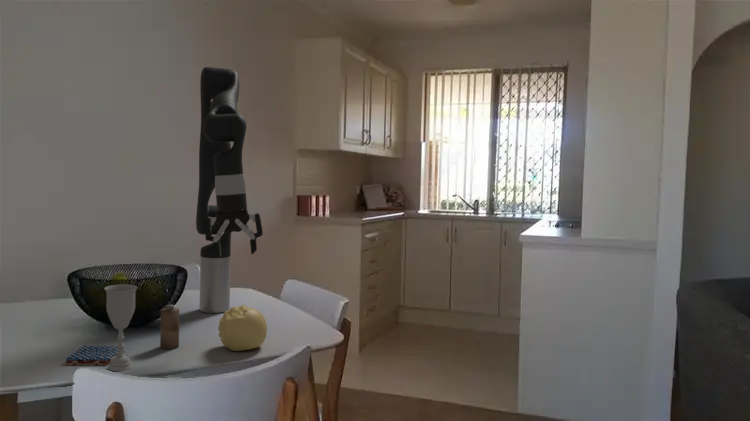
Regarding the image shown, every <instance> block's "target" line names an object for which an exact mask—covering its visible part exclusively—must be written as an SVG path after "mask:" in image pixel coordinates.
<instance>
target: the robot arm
mask: <svg viewBox="0 0 750 421" xmlns="http://www.w3.org/2000/svg"><path fill="white" fill-rule="evenodd" d="M199 81H200V84H199V85H200V92H199V93H200V116H201V117H200V135H199V147H198V149H199V151H198V152H199V153H198V193H197V194H198V195H197V204H196V216H195V217H196V218H195V227H196V231H197V234H199V235H204V236H205V241H210V242H212V243H209V244H207V245H204V246H202V247H201V248H200V255H199V256H200V258H199V259H200V261H199V264H200V265H199V266H200V267H199V268H200V269H199V311H200V312H202V313H207V314H210V313H211V314H217V313H218V314H219V313H224V312H225V311H228V310H230V300H231V298H230V296H231V256H232V255H231V254H232V253H231V252H232V251H231V250H232V249H231V247H232V246H231V245H232V244H231V243H232V232H235V233H239V232H241V231H243V232H244V233H245V234H246V235H247V236H248V237H249V238H250V240H249V241H250V242H249V244H250V254H251V255H254V254H255V252H257V250H258V247H257V246H258V245H257V238H260V237H262V236H263V234H264V232H263V225H262V224H263V223H262V218H261V213H259V212H256V213H253V214H250V213H249V212H248V204H247V203H248V202H247V201H248V200H247V192H246V191H247V190H246V183H245V182H246V181H245V177H244V168H243V148H244V142H245V137H246V134H247V133H246V132H247V122H246V119H245V118H244V116H243V115H241V114H239V113H238V109H237V107H238V106H237V105H238V101H239V94H240V76H239V73H238V72H237V71H236V70H234V69H231V68H222V67H212V66H211V67H210V66H204V68H202V70H201V73H200V80H199ZM231 142H232V143H233V144H232V146H231ZM213 192H215V201H216V205H210V204H209V202H210V199H211V195H212V193H213ZM249 220H251V221H252V222H253V223H255V227H256V232H255V233H254V231H253V230H252V229H251V228H250V227H249V226H248V222H249Z"/></svg>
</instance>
